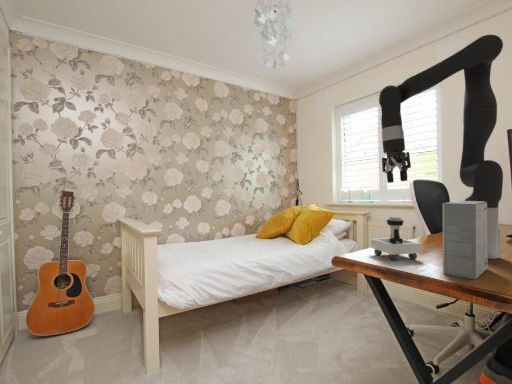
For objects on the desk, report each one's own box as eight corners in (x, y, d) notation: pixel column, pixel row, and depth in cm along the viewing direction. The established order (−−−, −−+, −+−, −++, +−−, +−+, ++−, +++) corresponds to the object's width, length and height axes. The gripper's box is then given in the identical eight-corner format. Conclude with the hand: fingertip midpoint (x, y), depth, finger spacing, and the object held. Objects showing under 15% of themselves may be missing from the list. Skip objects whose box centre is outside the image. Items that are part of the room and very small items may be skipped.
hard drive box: (456, 263, 88) (457, 200, 87) (488, 269, 82) (488, 201, 82) (441, 273, 77) (442, 202, 77) (476, 280, 72) (476, 203, 71)
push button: (394, 248, 93) (394, 218, 93) (380, 245, 98) (380, 217, 97) (406, 246, 96) (407, 217, 96) (393, 244, 101) (393, 216, 100)
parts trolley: (397, 252, 103) (397, 237, 103) (420, 260, 92) (421, 243, 92) (370, 254, 100) (370, 238, 100) (391, 262, 90) (392, 244, 89)
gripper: (414, 134, 100) (418, 179, 99) (391, 143, 114) (395, 182, 114) (394, 135, 99) (399, 181, 99) (374, 144, 113) (377, 183, 113)
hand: (397, 181), depth 106 cm, fingers open, 8 cm apart
